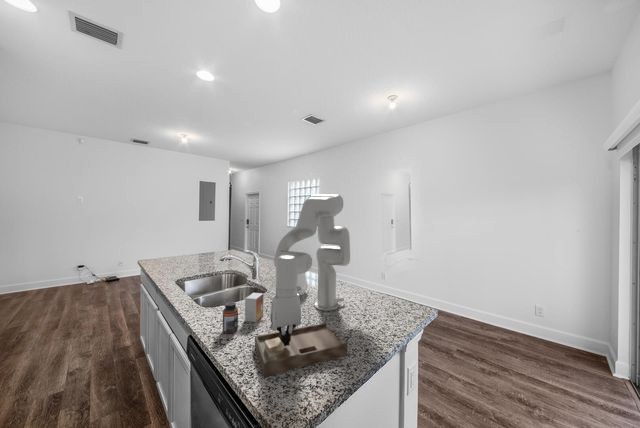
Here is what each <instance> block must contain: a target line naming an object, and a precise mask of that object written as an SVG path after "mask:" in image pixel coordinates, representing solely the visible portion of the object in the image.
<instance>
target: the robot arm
mask: <svg viewBox="0 0 640 428" xmlns="http://www.w3.org/2000/svg"><path fill="white" fill-rule="evenodd" d="M343 209H344V199H343V197H342V195H340V194H312V195H309V196H308V197H307V198H306V199H305V200H304V201H303V204H302V206H301V210H300V213H299V216H298V219H297V222H296V225H295V227H293V228H292V229H291V230H289V231H288V232H287V233H285V235H284V236H283V237H282V238H281V239H280V241H279V242H278V245H277V248H276V251H275V254H274V259H273V264H274V267H275V294H274V295H272V298H271V299H272V300H271V305H270V314H269V315H270V316H269V317H270V319H269V320H270V322H271V323H270V326H269V327H270V330H271V331H277V332H280V333H281V341H282V342H283V344H284V346H289V342H290V341H291V333H292V331H293V329H295V328H296V327H297V328H298V327H299V326H301V325H302V308H301V297H300V296H299V294H298V291H300V290H301V287H299V286H297V283H298V274H301V273H305V274H306V273H307V272H309V270H311V268H312V266H313V258H312V257H311V255H310V254H309V253H307V252H301V251H290V249H291V248H292V247H293V246H294V245H295V244H296V243H298V242H300V241H304V240H305V239H308V238H311V237H314V235H315V234H317V237H318V238H317V239H318V242H319V243H320V244H322V246H319V247H318V248H317V250H316V253H315V254H316V263H317V300H316V301H315V303H314V308H315V309H317V310H318V311H323V312H329V311H330V312H331V311H335V310H337V309H338V308H340V307H339V303H340V302H344V301H345V298H344V297H340V296H337V271H336V269H335V267H334V266H338V267H346V266H348V265H349V264H350V262H351V242H350V240H351V239H350V232H349V229H348V228H347V227H346V226H339V225H338V226H336V225H335V219H334V218H335V217H336V216H337V215H338V214H340V213H341V212H342V210H343ZM316 232H317V233H316ZM285 327H286V328H285Z"/></svg>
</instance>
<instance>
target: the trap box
mask: <svg viewBox="0 0 640 428" xmlns="http://www.w3.org/2000/svg"><path fill="white" fill-rule="evenodd" d="M327 325H328V324H327V322H323V323H316V324H311V325H306V326H302V327H297V328H296V327H295V328H294V329H293V331H292V333H291V341H290V342H289V346H284V353H282V354H279V355H275V356H272V357H269V356H268V354H267V353H266V351H265V341H266V340H270V339H274V338H278V337H279V338H280V340H281V333H280V332H279V331H274V332H271V333H264V334H261V335H260V334H259V335H256V336H254V348H255V353H256V355H257V359H258V361H259V364H260V367H261V371H262V374H263V377H264V378H267V377H270V376H273V375H278V374H281V372H282V373H286V372H289V371H292V370H291V369H293V370H296V369H295V368H297V369H300V368H299V367H301V368H305V367H308V366H312V365H315V363H316V364H320V363H323V361H324V362H327V361H331V360H334V359H339V358H343V357H346V356H348V343H347V342H345V343H342V342H341V340H340V339H339V338H338V337H337V336H336V335H335V334H334V333H333V332H332V331H331V330H330V329H329V328H328V327H327ZM319 362H320V363H319ZM304 366H305V367H304ZM288 370H289V371H288ZM269 375H270V376H269Z"/></svg>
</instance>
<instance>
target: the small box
mask: <svg viewBox="0 0 640 428" xmlns="http://www.w3.org/2000/svg"><path fill="white" fill-rule="evenodd" d="M263 316H264V293H260V292H252V293H251V294H250V295H248V296H246V297H245V298H244V322H249V323H257V322H258V321H259V320H260V319H261V318H262V317H263Z"/></svg>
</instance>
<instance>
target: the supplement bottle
mask: <svg viewBox="0 0 640 428" xmlns="http://www.w3.org/2000/svg"><path fill="white" fill-rule="evenodd" d="M224 304H225V305H224V306H225V307H224V308H223V310H222V332H223V333H224V334H233V333H235V332H237V331H238V330H239V309H238V307H237V305H236V302H235V301H228V302H226V303H224Z"/></svg>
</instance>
